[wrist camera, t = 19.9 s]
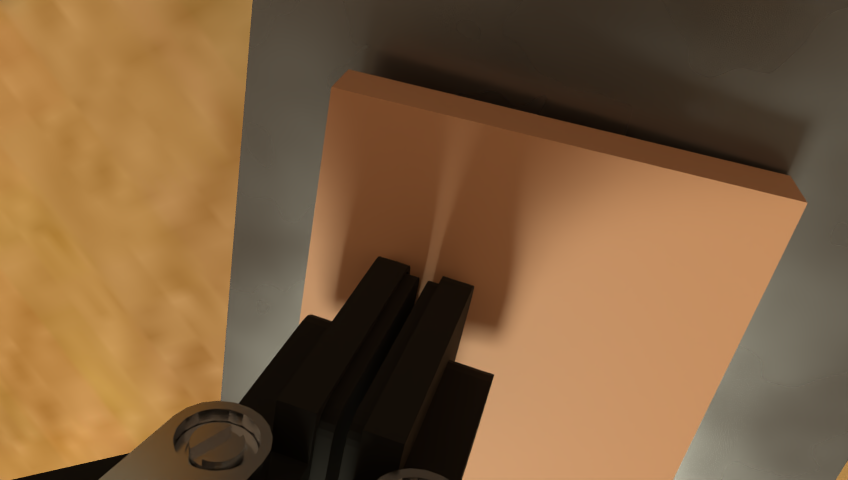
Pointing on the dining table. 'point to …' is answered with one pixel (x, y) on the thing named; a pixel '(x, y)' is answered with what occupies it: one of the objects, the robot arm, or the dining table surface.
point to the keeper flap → (553, 267)
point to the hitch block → (600, 109)
